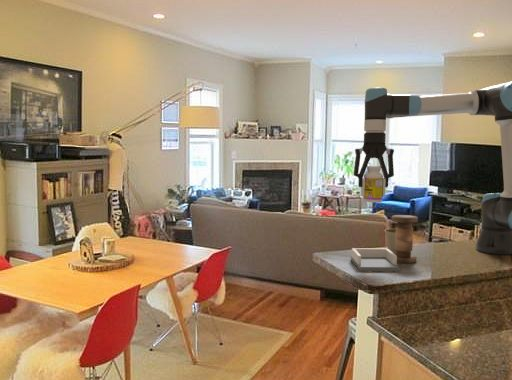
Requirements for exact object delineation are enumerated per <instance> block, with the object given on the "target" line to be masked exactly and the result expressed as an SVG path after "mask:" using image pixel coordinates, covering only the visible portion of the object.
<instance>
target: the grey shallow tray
mask: <svg viewBox="0 0 512 380" xmlns="http://www.w3.org/2000/svg"><path fill="white" fill-rule="evenodd" d="M350 255H351V256H350V261H351V260H352V261H351V262H352V263H353V265H354V266H355V265H356V266H357V267H356V266H355V267H356V268H357V270H358V271H359V270H360V271H383V273H385V272H387V273H388V272H389V273H390V272H392V273H395V272H397V273H398V272H399V273H400V268H401V267H400V266H399V265H398V264H397V256H396V255H395V254H394V253H393V252H391V251H390V250H389V249H388V247H387V248H386V247H385V248H383V247H382V248H379V247H378V248H374V247H373V248H372V247H371V248H369V247H367V248H365V247H361V248H360V247H358V248H357V247H356V248H355V247H353V248H351V253H350ZM360 271H359V272H360ZM393 271H394V272H393Z"/></svg>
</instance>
